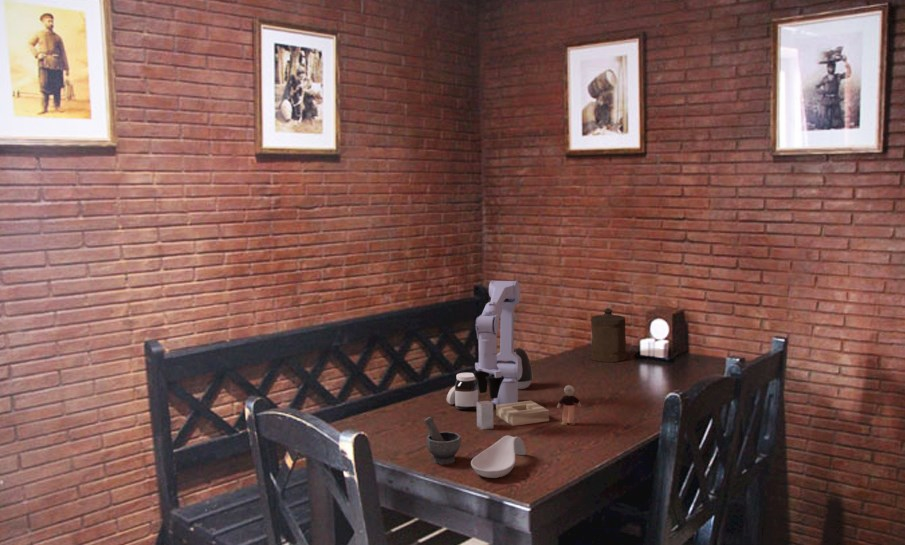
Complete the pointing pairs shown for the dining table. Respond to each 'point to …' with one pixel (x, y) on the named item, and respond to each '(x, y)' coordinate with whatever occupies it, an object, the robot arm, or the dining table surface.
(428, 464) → the dining table surface
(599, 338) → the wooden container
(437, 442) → the mortar and pestle
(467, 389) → the spread jar
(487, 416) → the steel peg
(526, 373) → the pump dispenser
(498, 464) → the spoon rest
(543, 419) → the maple hole block
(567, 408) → the grandmother figurine
